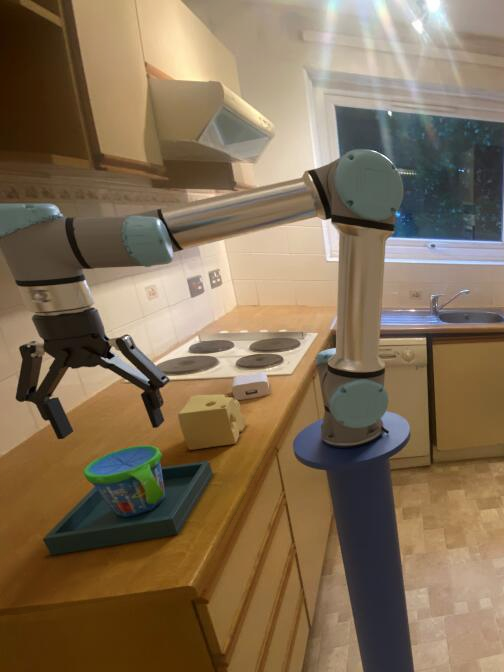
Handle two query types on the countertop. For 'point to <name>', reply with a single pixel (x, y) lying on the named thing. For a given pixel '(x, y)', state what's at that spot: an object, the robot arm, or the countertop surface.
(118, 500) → the snack cup
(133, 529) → the tray
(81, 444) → the countertop surface
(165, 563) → the countertop surface
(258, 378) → the charger
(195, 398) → the cheese
